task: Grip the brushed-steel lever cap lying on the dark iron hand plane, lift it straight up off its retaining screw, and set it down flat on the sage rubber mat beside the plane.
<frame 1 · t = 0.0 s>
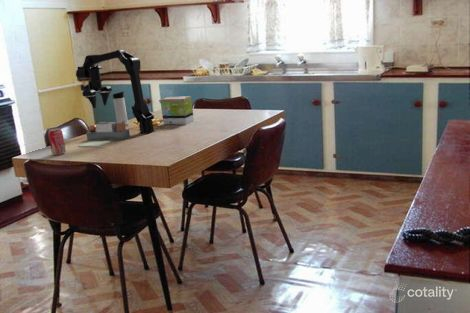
hand: (99, 106, 286), 15 cm above the table, tool pointing down, fingers open, 9 cm apart
hand plane: (108, 138, 272), on the table
beverage can: (59, 154, 246), on the table
rubber mat: (94, 144, 260), on the table
tea box: (178, 123, 297), on the table
lever cap: (107, 131, 271), point 4 cm above the table, touching hand plane
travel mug: (123, 126, 305), on the table
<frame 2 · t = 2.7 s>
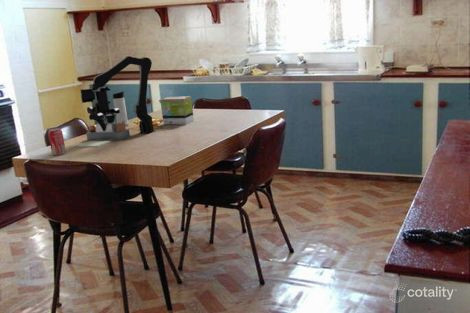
hand: (107, 130, 271), 5 cm above the table, tool pointing down, fingers closed on lever cap, 5 cm apart
lever cap: (107, 131, 271), point 4 cm above the table, touching gripper, hand plane
everything else where it was.
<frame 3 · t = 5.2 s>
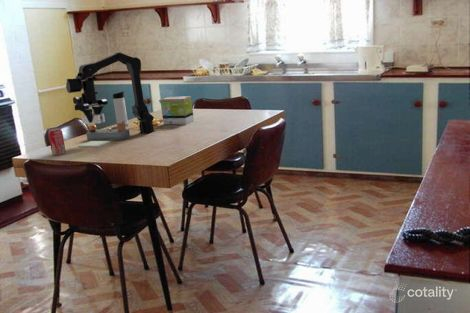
hand: (93, 121, 260), 11 cm above the table, tool pointing down, fingers closed on lever cap, 5 cm apart
lever cap: (94, 122, 260), point 11 cm above the table, touching gripper
everything else where it was.
when the fingers open (2 cm above the table, at t = 7.6 s): lever cap drops 1 cm, resting on rubber mat.
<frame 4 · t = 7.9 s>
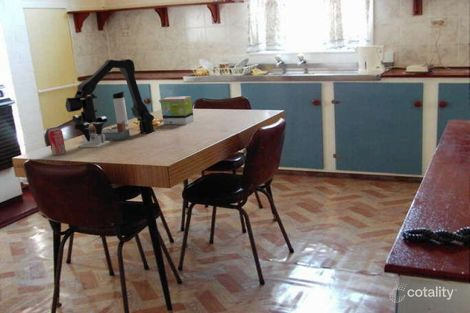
hand: (93, 139, 259), 2 cm above the table, tool pointing down, fingers open, 8 cm apart
lever cap: (94, 143, 260), point 1 cm above the table, touching rubber mat
everything else where it was.
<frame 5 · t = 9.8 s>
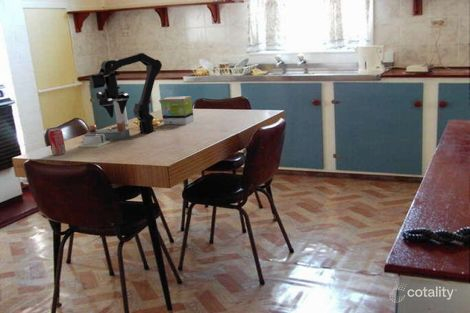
hand: (117, 115, 267), 12 cm above the table, tool pointing down, fingers open, 9 cm apart
nothing on the table moved.
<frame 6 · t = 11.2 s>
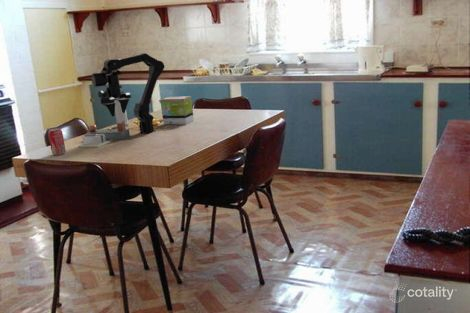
hand: (118, 114, 268), 12 cm above the table, tool pointing down, fingers open, 9 cm apart
nothing on the table moved.
at the end: lever cap inside the target area (0.1 cm from its centre), point 0.6 cm above the table; lever cap tilted 0°; the gripper is holding nothing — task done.
